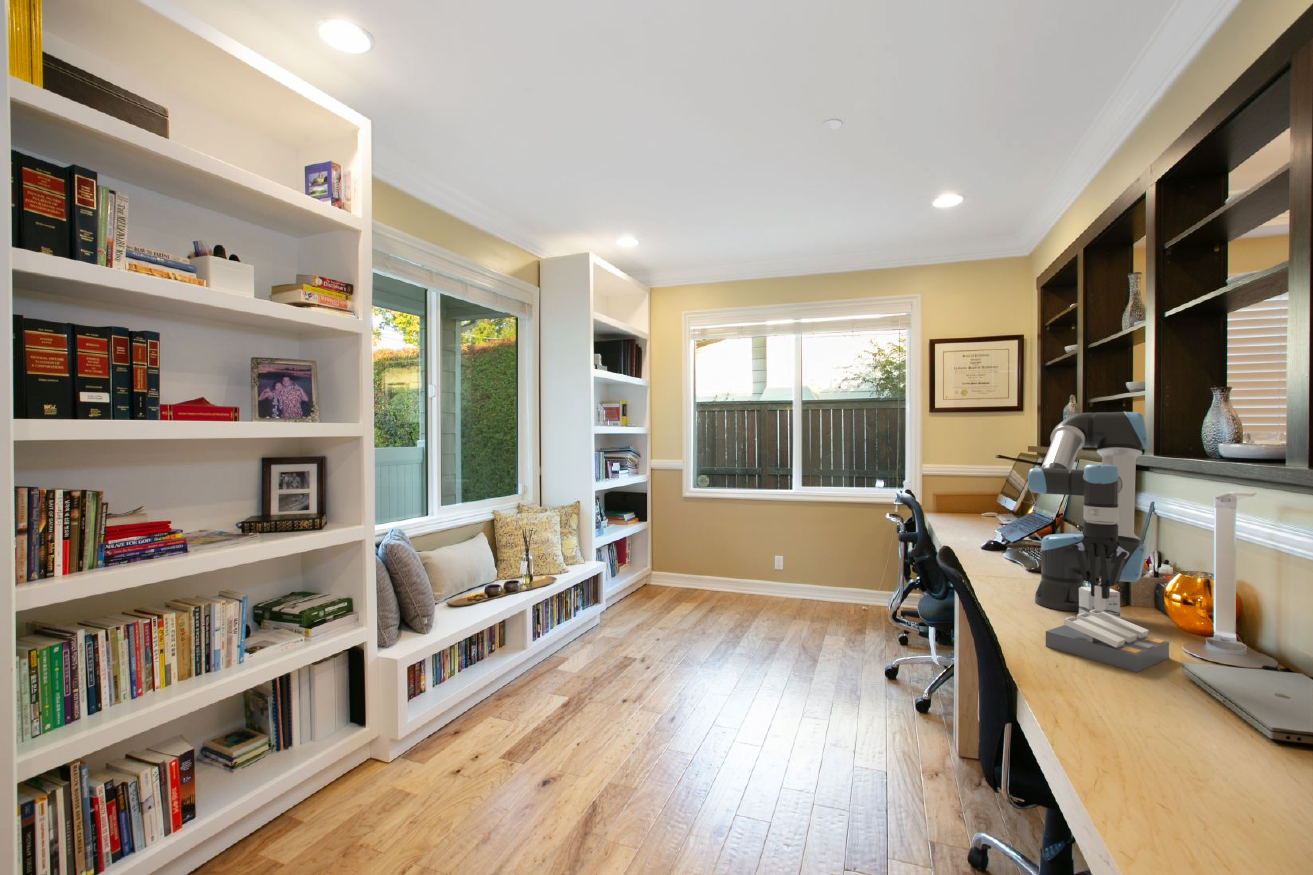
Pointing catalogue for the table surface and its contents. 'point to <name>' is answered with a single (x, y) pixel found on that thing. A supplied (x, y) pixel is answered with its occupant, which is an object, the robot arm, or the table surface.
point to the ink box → (1088, 601)
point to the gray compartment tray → (1109, 649)
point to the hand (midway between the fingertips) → (1100, 609)
